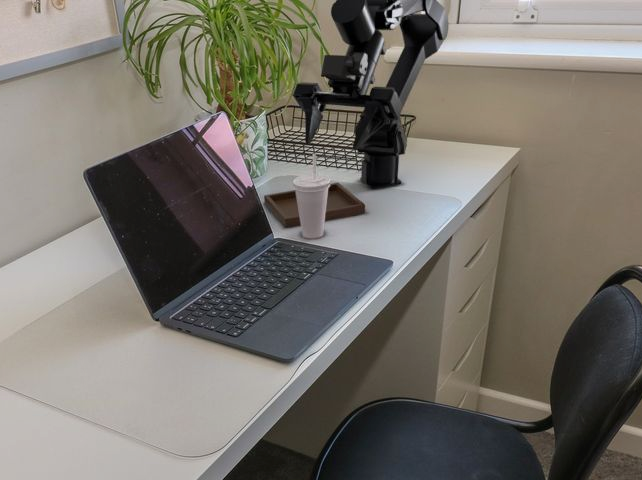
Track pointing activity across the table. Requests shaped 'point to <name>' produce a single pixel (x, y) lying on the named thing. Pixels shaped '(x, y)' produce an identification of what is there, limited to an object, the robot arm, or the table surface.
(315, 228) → the smoothie
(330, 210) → the tray
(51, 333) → the table surface
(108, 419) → the table surface
